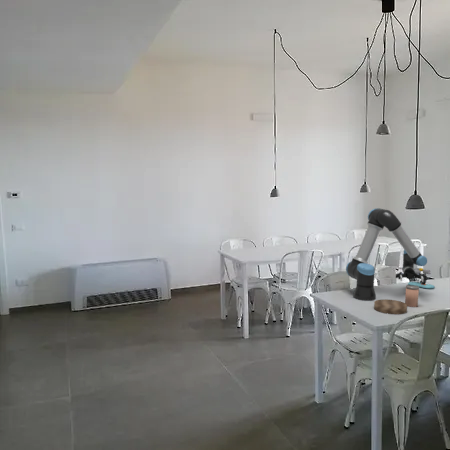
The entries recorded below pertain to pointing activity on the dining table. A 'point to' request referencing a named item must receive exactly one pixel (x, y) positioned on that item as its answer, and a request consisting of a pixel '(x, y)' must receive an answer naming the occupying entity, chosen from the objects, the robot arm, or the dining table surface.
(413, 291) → the terracotta jar
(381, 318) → the dining table surface
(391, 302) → the walnut pedestal
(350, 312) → the dining table surface
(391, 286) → the dining table surface
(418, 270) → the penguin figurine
